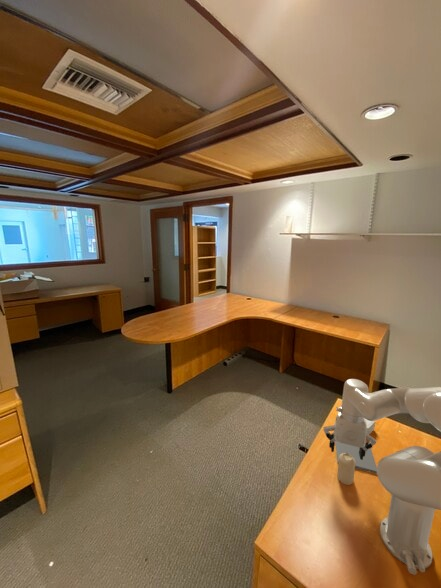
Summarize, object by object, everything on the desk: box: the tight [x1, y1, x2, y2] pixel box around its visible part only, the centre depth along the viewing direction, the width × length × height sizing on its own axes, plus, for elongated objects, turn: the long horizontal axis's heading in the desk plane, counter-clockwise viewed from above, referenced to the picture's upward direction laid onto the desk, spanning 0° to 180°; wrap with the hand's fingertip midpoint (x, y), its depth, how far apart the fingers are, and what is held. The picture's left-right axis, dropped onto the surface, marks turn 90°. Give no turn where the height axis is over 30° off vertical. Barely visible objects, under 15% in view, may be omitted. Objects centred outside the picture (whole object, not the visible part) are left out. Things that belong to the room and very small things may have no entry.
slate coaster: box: [334, 441, 377, 475], centre depth 105 cm, size 14×14×1 cm
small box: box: [365, 419, 376, 435], centre depth 119 cm, size 8×8×5 cm
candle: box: [336, 453, 356, 486], centre depth 93 cm, size 6×6×10 cm
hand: (346, 452), depth 93 cm, fingers open, 9 cm apart
